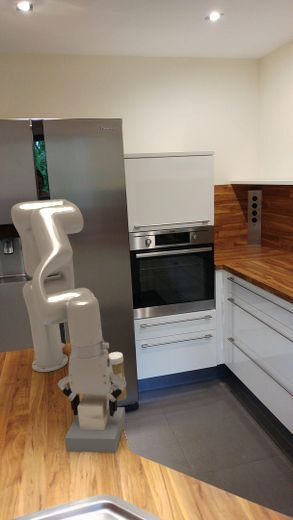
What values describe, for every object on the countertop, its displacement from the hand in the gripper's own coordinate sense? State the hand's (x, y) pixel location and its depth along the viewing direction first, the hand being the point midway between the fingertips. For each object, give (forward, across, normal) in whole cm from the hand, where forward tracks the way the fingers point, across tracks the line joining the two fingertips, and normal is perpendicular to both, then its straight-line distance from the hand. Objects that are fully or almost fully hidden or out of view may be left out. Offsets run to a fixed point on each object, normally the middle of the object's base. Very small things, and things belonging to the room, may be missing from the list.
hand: (95, 412), depth 88 cm
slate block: (+7, 0, 0) cm, 7 cm away
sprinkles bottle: (+6, -2, -16) cm, 17 cm away
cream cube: (+3, 0, 0) cm, 3 cm away
